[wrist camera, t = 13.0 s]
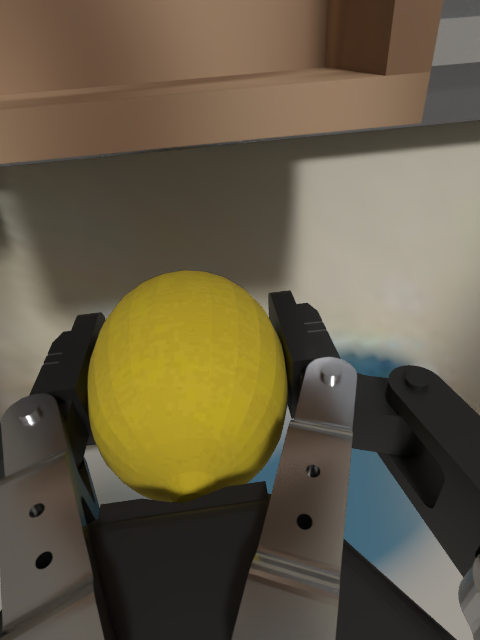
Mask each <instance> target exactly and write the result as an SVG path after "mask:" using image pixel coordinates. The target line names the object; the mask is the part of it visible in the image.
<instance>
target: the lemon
mask: <svg viewBox="0 0 480 640" xmlns="http://www.w3.org/2000/svg"><path fill="white" fill-rule="evenodd" d="M287 397H288V386H287V375H286V367H285V361H284V354H283V350H282V345H281V343H280V340H279V337H278V335H277V333H276V331H275V329H274V327H273V325H272V323H271V321H270V320H269V318H268V316H267V314H266V312H265V311H264V309H263V308H262V307H261V306H260V305H259V304H258V303H257V302H256V301H255V300H254V298H253V297H252V296H251V295H250V294H249V293H248V292H247V291H246V290H244V289H243V288H241V287H240V286H238V285H236V284H235V283H233V282H231V281H230V280H228V279H226V278H225V277H221V276H218V275H215V274H211V273H208V272H203V271H187V270H183V271H177V272H171V273H164V274H161V275H159V276H157V277H154V278H152V279H149V280H147V281H145V282H143V283H142V284H140V285H139V286H138V287H136V288H135V289H134V290H132V291H131V292H130V293H128V294H127V295H126V296H124V297H123V299H122V300H121V301H120V302H119V303H118V305H117V306H116V307H115V308H114V310H113V311H112V312H111V314H110V315H109V316H108V318H107V319H106V321H105V322H104V324H103V326H102V328H101V330H100V333H99V336H98V339H97V342H96V344H95V347H94V350H93V353H92V356H91V360H90V364H89V371H88V408H89V419H90V426H91V430H92V433H93V437H94V440H95V442H96V444H97V447H98V449H99V451H100V454H101V456H102V457H103V459H104V461H105V463H106V464H107V466H108V467H109V468H110V469H111V470H112V471H113V472H114V473H115V474H116V475H117V476H118V477H119V479H120V480H121V481H122V482H123V483H124V484H126V485H127V486H129V487H130V488H132V489H133V490H135V491H136V492H138V493H139V494H141V495H143V496H145V497H147V498H150V499H152V500H157V501H166V502H175V503H186V502H189V501H191V500H194V499H196V498H199V497H201V496H204V495H206V494H209V493H211V492H214V491H216V490H219V489H221V488H224V487H228V486H235V485H242V484H247V483H248V482H249V481H250V480H251V479H252V478H253V477H254V476H255V475H256V474H258V473H259V471H261V470H262V468H263V467H264V466H265V465H266V463H267V462H268V460H269V459H270V457H271V455H272V453H273V452H274V450H275V448H276V446H277V444H278V442H279V440H280V437H281V433H282V429H283V425H284V420H285V414H286V408H287Z"/></svg>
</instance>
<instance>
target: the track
mask: <svg viewBox="0 0 480 640" xmlns="http://www.w3.org/2000/svg"><path fill="white" fill-rule="evenodd" d="M476 120H480V0H444V1H443V7H442V12H441V18H440V23H439V29H438V34H437V40H436V45H435V51H434V56H433V62H432V67H431V73H430V78H429V84H428V89H427V95H426V100H425V106H424V111H423V117H422V122H421V123H418V124H407V125H397V126H387V127H376V128H366V129H356V130H346V131H335V132H325V133H315V134H304V135H294V136H284V137H273V138H263V139H253V140H243V141H232V142H222V143H212V144H201V145H191V146H181V147H170V148H160V149H150V150H140V151H129V152H119V153H109V154H98V155H88V156H78V157H67V158H57V159H47V160H37V161H26V162H16V163H6V164H0V167H4V166H14V165H25V164H35V163H45V162H55V161H66V160H76V159H86V158H96V157H107V156H117V155H127V154H137V153H148V152H158V151H168V150H178V149H189V148H199V147H209V146H219V145H230V144H240V143H250V142H260V141H271V140H281V139H291V138H301V137H312V136H322V135H332V134H343V133H353V132H363V131H373V130H384V129H394V128H404V127H414V126H425V125H435V124H445V123H455V122H466V121H476Z"/></svg>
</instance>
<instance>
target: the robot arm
mask: <svg viewBox="0 0 480 640" xmlns="http://www.w3.org/2000/svg"><path fill="white" fill-rule="evenodd" d="M268 303H269V320H270V321H271V323H272V325H273V327H274V329H275V331H276V333H277V335H278V337H279V340H280V343H281V345H282V350H283V354H284V361H285V367H286V375H287V386H288V397H287V403H288V407H289V411H290V414H291V418H292V419H293V418H294V420H291V421H290V423H289V427H288V430H287V434H286V438H285V442H284V446H283V450H282V454H281V458H280V463H279V466H278V470H277V474H276V478H275V482H274V486H273V490H272V494H268V493H267V488H266V482H265V481H263V482H256V483H249V484H242V485H235V486H228V487H224V488H221V489H219V490H216V491H214V492H211V493H209V494H206V495H204V496H201V497H199V498H196V499H194V500H191V501H189V502H186V503H175V502H166V501H157V500H148V499H136V500H129V501H123V502H115V503H109V504H101V506H100V507H99V504H98V500H97V497H96V494H95V490H94V486H93V483H92V479H91V476H90V472H89V469H88V465H87V462H86V460H85V458H84V453H85V449H86V446H87V445H95V444H96V442H95V440H94V437H93V433H92V430H91V426H90V419H89V408H88V371H89V364H90V360H91V356H92V353H93V350H94V347H95V344H96V342H97V339H98V336H99V333H100V330H101V328H102V326H103V324H104V322H105V321H106V320H105V317H104V315H103V314H102V313H101V312H100V313H91V314H83V315H78V316H77V317H76V320H75V322H74V325H73V327H72V330H71V331H66V332H63V333H62V334H61V335H60V336H59V337H58V338H57V339H56V340H55V341H54V342H53V343H52V345H51V347H50V350H49V352H48V356H46V359H45V361H44V365H42V368H41V370H40V372H39V375H38V377H37V379H36V381H35V384H34V386H33V388H32V390H31V393H30V395H29V396H27V397H25V398H22V399H20V400H19V401H17V402H16V403H14V404H13V405H12V406H10V407H9V408H8V409H7V410H6V412H5V413H4V415H3V417H2V419H1V422H0V582H1V600H2V610H1V611H0V640H456V639H455V638H454V637H453V636H452V635H451V634H450V633H449V632H448V631H446V630H445V629H444V628H443V627H442V626H441V625H440V624H439V623H437V622H436V621H435V620H434V619H433V618H432V617H431V616H430V615H428V614H427V613H426V612H425V611H424V610H423V609H422V608H421V607H419V606H418V605H417V604H416V603H415V602H414V601H413V600H411V599H410V598H409V597H408V596H407V595H406V594H405V593H404V592H403V591H402V590H400V589H399V588H398V587H397V586H396V585H395V584H394V583H393V582H391V581H390V580H389V579H388V578H387V577H386V576H385V575H384V574H382V573H381V572H380V571H379V570H378V569H377V568H376V567H375V566H374V565H373V564H371V563H370V562H369V561H368V560H367V559H366V558H365V557H364V556H362V555H361V554H360V553H359V552H358V551H357V550H355V549H354V548H353V547H352V546H351V545H350V544H349V543H348V542H347V541H346V540H345V539H344V527H345V517H346V505H347V494H348V483H349V472H350V461H351V449H352V448H355V449H360V450H367V451H373V452H377V453H378V455H379V456H380V458H381V459H382V461H383V462H384V463H385V465H386V466H387V468H388V469H389V471H390V472H391V474H392V475H393V476H394V478H395V479H396V481H397V482H398V484H399V485H400V487H401V488H402V489H403V491H404V492H405V494H406V495H407V497H408V498H409V500H410V501H411V502H412V504H413V505H414V507H415V508H416V510H417V511H418V512H419V514H420V515H421V517H422V518H423V520H424V521H425V523H426V524H427V525H428V527H429V528H430V530H431V531H432V533H433V534H434V536H435V537H436V538H437V540H438V541H439V543H440V544H441V546H442V547H443V549H444V550H445V551H446V553H447V554H448V556H449V557H450V559H451V560H452V562H453V563H454V564H455V566H456V567H457V569H458V570H459V572H460V573H461V575H462V576H463V580H462V581H461V583H460V586H459V592H458V594H459V595H458V596H459V603H460V606H461V609H462V612H463V614H464V616H465V618H466V620H467V622H468V624H469V626H470V628H471V631H472V634H473V638H474V640H480V416H479V415H478V414H477V413H476V412H475V411H474V410H473V409H472V408H471V407H470V406H469V405H468V404H467V403H466V402H465V401H464V400H463V399H462V398H461V397H460V396H459V395H457V394H456V393H455V392H454V391H453V390H452V389H451V388H450V387H449V386H448V385H447V384H446V383H445V382H444V381H443V380H442V379H441V378H440V377H439V376H438V375H436V374H435V373H433V372H432V371H430V370H428V369H425V368H422V367H419V366H411V365H407V366H401V367H398V368H396V369H394V370H393V371H392V372H391V373H390V375H389V378H382V377H373V376H366V375H362V374H359V373H357V372H356V370H355V369H354V367H353V366H352V365H351V364H349V363H348V362H346V361H344V360H342V359H341V358H340V356H339V354H338V352H337V350H336V348H335V346H334V344H333V342H332V340H331V338H330V336H329V334H328V332H327V331H326V327H325V325H324V323H322V319H321V317H320V315H319V313H318V311H317V310H316V309H314V308H313V307H312V306H311V305H309V304H308V303H302V304H296V302H295V300H294V297H293V295H292V293H291V291H290V290H289V291H281V292H272V293H269V295H268Z"/></svg>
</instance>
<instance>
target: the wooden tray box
mask: <svg viewBox="0 0 480 640" xmlns="http://www.w3.org/2000/svg"><path fill="white" fill-rule="evenodd" d="M443 1H444V0H0V164H6V163H16V162H26V161H37V160H47V159H57V158H67V157H78V156H88V155H98V154H109V153H119V152H129V151H140V150H150V149H160V148H170V147H181V146H191V145H201V144H212V143H222V142H232V141H243V140H253V139H263V138H273V137H284V136H294V135H304V134H315V133H325V132H335V131H346V130H356V129H366V128H376V127H387V126H397V125H407V124H418V123H421V122H422V117H423V111H424V106H425V100H426V95H427V89H428V84H429V78H430V73H431V67H432V62H433V56H434V51H435V45H436V40H437V34H438V29H439V23H440V18H441V12H442V7H443Z"/></svg>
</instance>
